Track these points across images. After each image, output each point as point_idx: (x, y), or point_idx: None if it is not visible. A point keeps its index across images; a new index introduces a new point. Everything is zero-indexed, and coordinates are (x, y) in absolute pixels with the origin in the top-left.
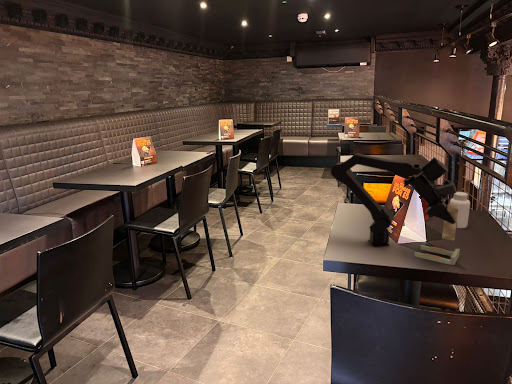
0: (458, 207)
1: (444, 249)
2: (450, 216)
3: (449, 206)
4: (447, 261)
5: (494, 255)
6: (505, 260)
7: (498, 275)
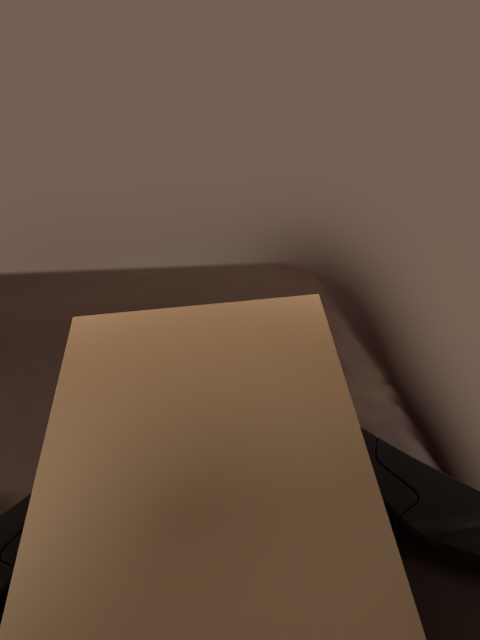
0: (209, 304)
1: None
2: (363, 435)
3: (231, 521)
4: None
5: (158, 297)
6: (187, 270)
7: (312, 278)
